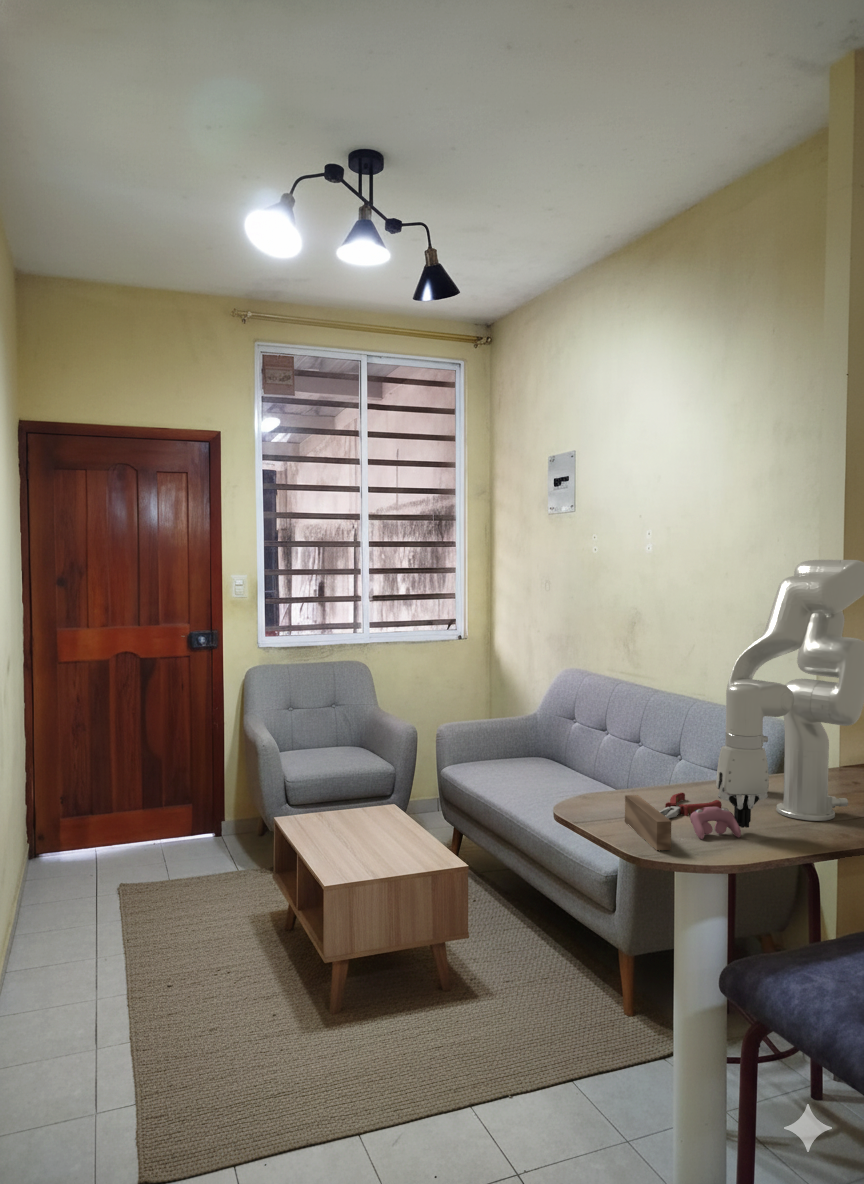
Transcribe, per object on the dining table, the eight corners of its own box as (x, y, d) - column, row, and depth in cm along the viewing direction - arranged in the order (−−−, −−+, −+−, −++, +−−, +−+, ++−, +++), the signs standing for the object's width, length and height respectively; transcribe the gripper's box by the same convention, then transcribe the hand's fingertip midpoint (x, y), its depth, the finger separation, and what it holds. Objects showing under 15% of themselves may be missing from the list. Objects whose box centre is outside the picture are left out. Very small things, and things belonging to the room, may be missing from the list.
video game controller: (734, 840, 185) (727, 807, 188) (744, 836, 181) (737, 803, 184) (691, 842, 184) (685, 809, 187) (700, 838, 180) (694, 805, 183)
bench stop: (637, 821, 193) (638, 795, 193) (670, 850, 173) (671, 821, 173) (624, 821, 193) (625, 795, 193) (656, 851, 173) (657, 821, 173)
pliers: (636, 816, 199) (637, 805, 199) (679, 800, 213) (680, 790, 213) (682, 828, 191) (682, 816, 191) (723, 810, 205) (723, 799, 205)
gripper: (768, 737, 189) (766, 819, 190) (703, 738, 188) (701, 821, 188) (785, 744, 182) (783, 830, 182) (718, 745, 180) (716, 832, 181)
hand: (742, 825), depth 185 cm, fingers closed
